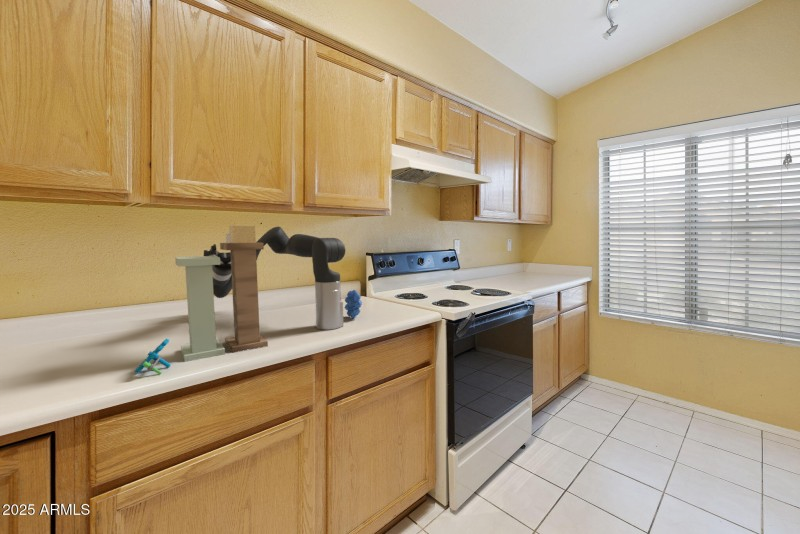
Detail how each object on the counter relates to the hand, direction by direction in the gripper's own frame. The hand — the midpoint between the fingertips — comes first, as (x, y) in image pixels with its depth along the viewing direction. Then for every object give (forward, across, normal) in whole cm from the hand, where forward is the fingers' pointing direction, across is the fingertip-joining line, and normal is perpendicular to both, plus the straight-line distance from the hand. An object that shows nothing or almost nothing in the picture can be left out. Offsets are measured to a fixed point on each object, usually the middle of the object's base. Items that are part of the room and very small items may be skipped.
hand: (228, 246), depth 120 cm
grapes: (-11, -46, -29) cm, 55 cm away
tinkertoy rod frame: (+6, +23, -40) cm, 46 cm away
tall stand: (-1, -1, -35) cm, 35 cm away
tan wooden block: (+11, -1, -5) cm, 12 cm away
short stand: (-1, +11, -35) cm, 37 cm away
